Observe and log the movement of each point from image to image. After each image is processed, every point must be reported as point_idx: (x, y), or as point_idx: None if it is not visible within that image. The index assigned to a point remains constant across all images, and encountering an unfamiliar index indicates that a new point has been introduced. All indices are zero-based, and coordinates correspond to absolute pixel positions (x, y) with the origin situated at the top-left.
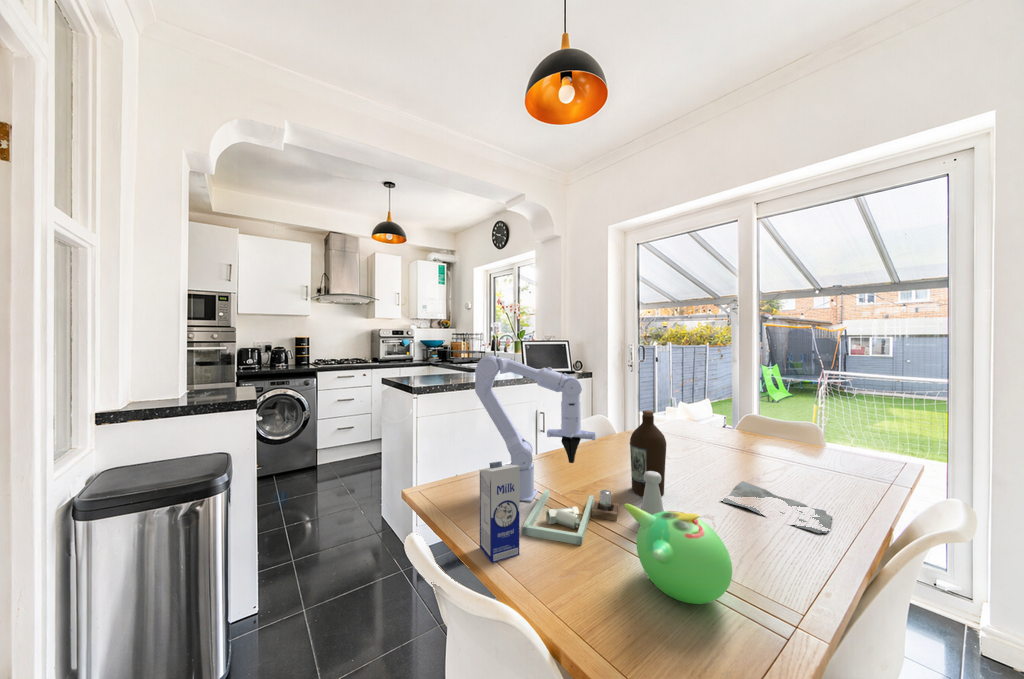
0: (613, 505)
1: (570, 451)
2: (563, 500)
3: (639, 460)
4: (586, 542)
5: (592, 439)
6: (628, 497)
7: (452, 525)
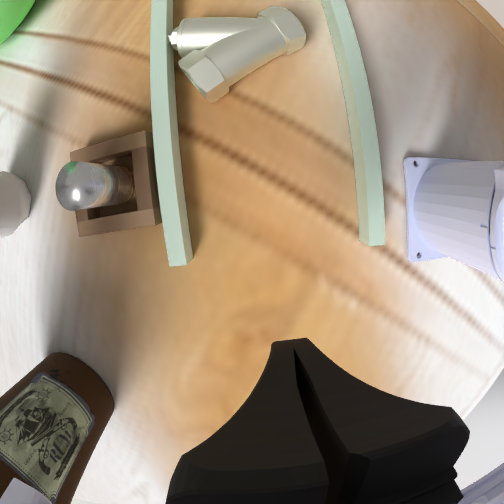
0: (90, 219)
1: (311, 408)
2: (296, 226)
3: (18, 422)
4: (149, 5)
5: (29, 492)
6: (97, 341)
7: (471, 9)
